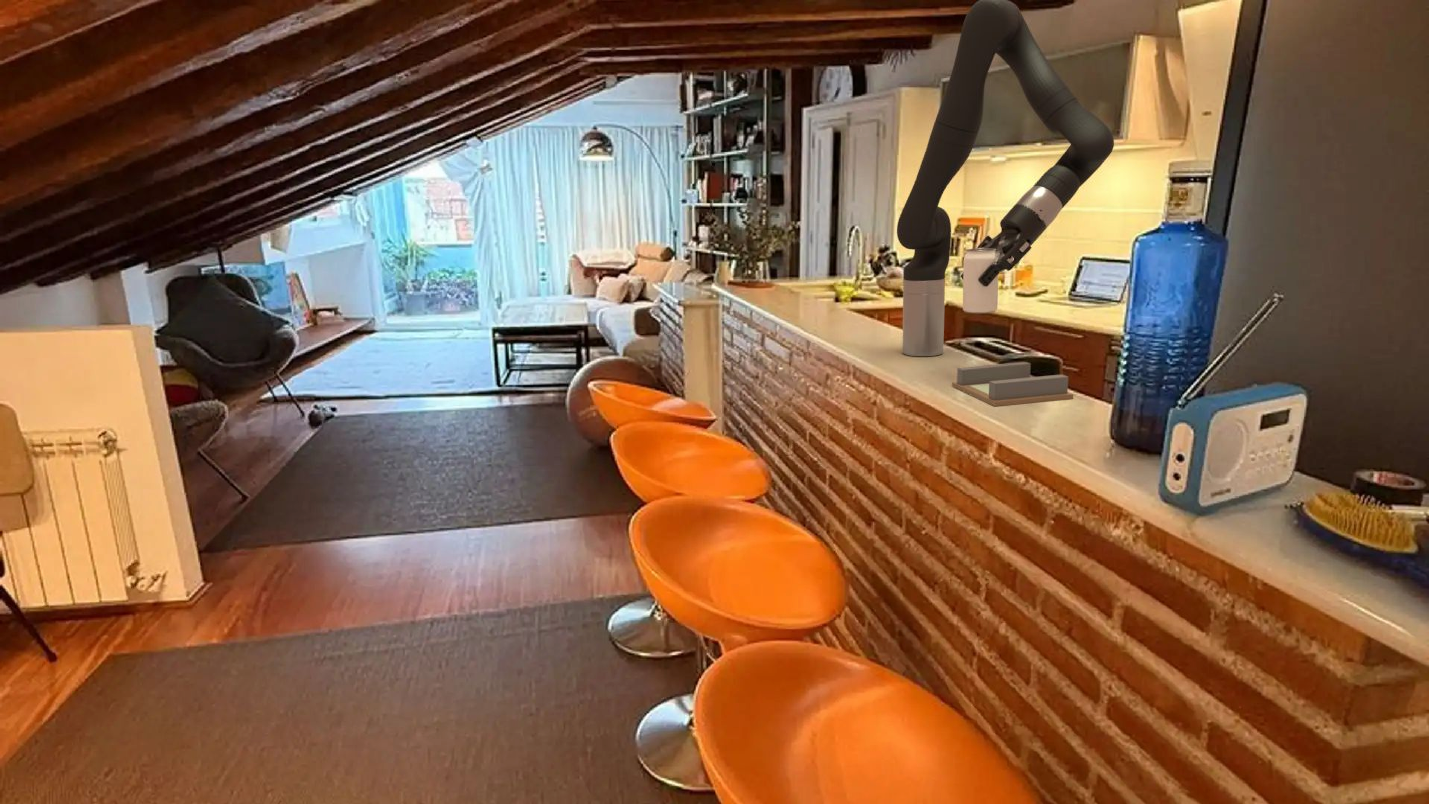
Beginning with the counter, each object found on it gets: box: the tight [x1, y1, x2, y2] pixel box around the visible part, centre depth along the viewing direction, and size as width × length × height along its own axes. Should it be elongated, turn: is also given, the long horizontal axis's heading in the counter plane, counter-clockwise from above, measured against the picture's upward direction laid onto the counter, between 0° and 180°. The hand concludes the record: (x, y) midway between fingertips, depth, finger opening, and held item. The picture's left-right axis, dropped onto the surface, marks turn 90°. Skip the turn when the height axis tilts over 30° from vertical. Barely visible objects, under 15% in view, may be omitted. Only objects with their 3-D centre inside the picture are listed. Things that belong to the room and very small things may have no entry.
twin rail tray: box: [951, 361, 1074, 407], centre depth 146 cm, size 16×15×4 cm
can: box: [962, 247, 999, 314], centre depth 154 cm, size 6×6×12 cm
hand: (972, 281), depth 154 cm, fingers closed on can, 6 cm apart
